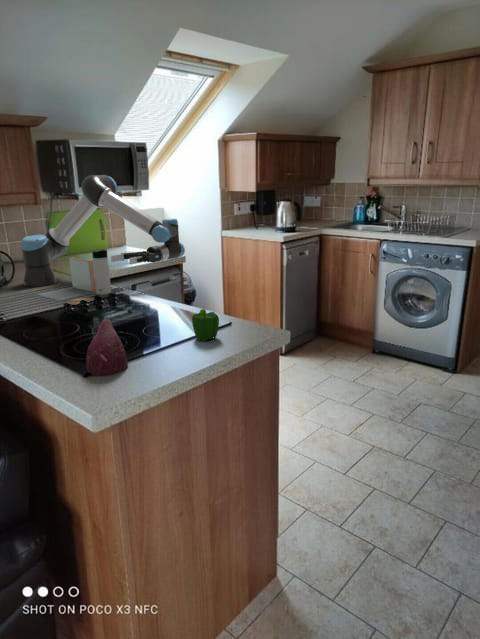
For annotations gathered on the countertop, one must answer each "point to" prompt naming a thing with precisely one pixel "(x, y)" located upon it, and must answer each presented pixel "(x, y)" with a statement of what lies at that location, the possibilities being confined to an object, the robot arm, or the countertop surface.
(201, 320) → the bell pepper
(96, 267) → the travel mug
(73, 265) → the tile
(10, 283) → the countertop surface
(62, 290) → the mat
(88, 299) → the coaster
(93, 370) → the vegetable
